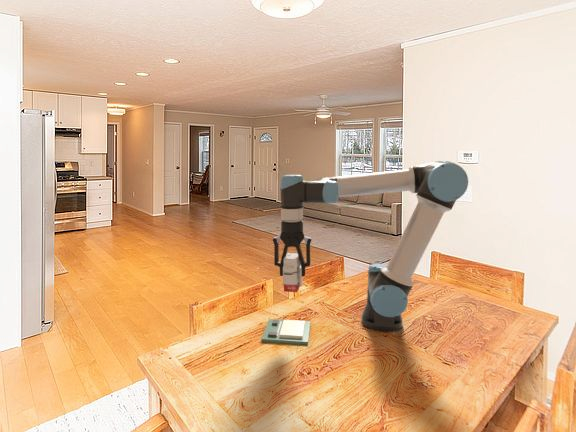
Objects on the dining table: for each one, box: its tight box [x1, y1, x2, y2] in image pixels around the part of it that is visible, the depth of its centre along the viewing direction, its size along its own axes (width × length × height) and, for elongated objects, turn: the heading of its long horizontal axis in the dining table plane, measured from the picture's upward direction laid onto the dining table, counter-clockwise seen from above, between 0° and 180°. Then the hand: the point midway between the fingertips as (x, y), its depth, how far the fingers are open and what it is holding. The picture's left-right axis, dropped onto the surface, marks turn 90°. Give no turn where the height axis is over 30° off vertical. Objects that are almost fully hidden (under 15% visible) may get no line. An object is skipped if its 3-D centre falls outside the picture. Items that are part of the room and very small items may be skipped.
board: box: [260, 318, 311, 346], centre depth 138 cm, size 16×16×2 cm
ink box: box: [283, 252, 301, 293], centre depth 134 cm, size 9×5×12 cm, turn 169°
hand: (292, 284), depth 135 cm, fingers closed on ink box, 5 cm apart
